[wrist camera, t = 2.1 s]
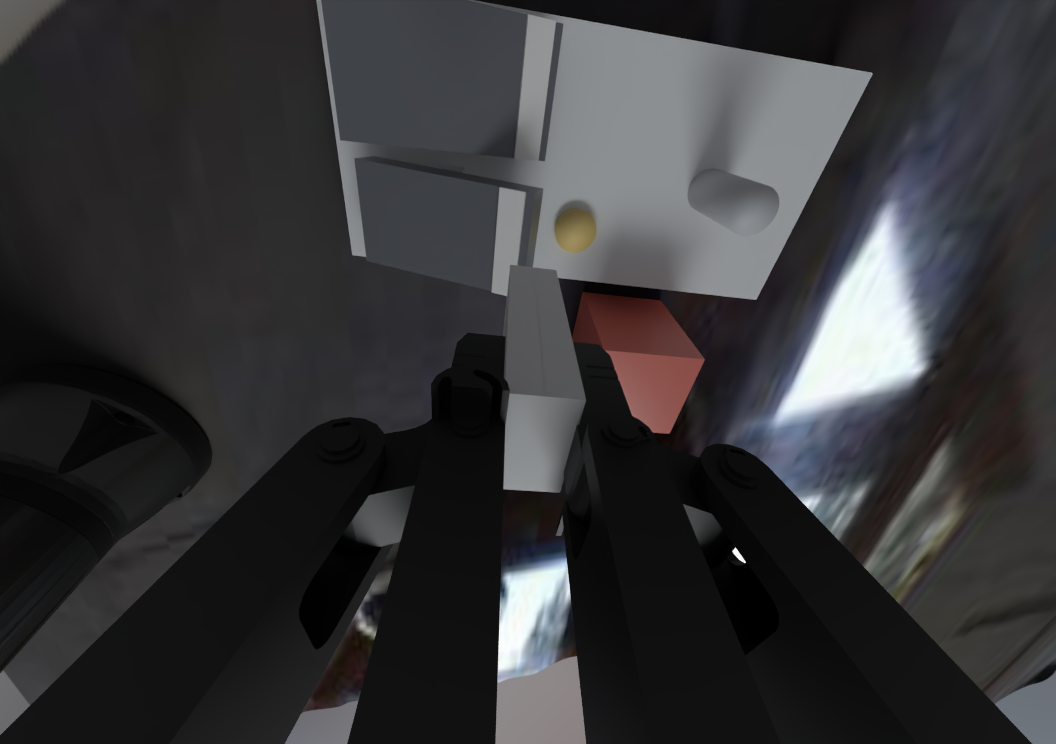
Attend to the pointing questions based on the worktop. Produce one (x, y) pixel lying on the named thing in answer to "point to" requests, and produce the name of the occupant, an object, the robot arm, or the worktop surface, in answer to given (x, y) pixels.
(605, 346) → the red rectangular block
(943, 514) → the worktop surface
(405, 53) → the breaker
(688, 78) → the panel
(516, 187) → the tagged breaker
